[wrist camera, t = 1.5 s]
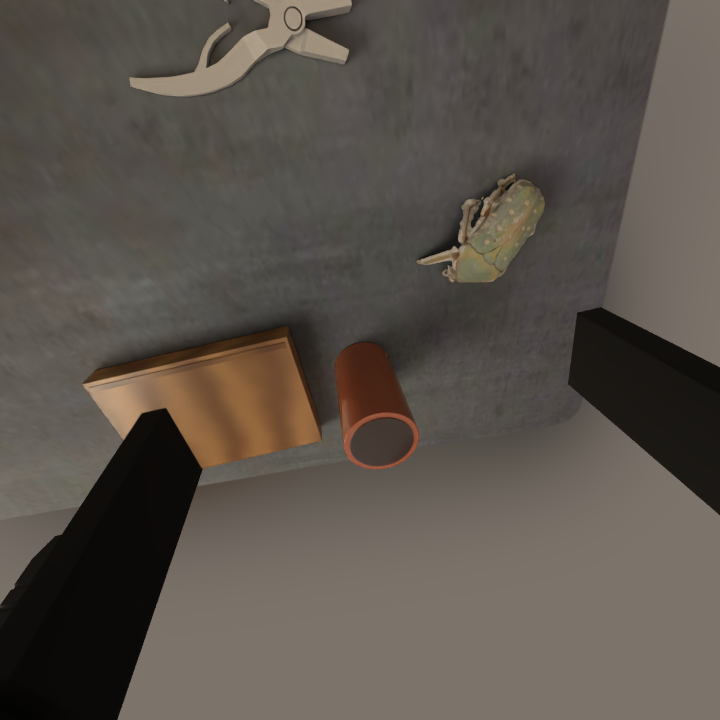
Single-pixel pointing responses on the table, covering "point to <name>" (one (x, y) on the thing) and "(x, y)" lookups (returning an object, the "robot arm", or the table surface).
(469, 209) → the decorative insect model
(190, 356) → the oak board
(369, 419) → the pen cup
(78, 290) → the table surface
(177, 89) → the pliers
